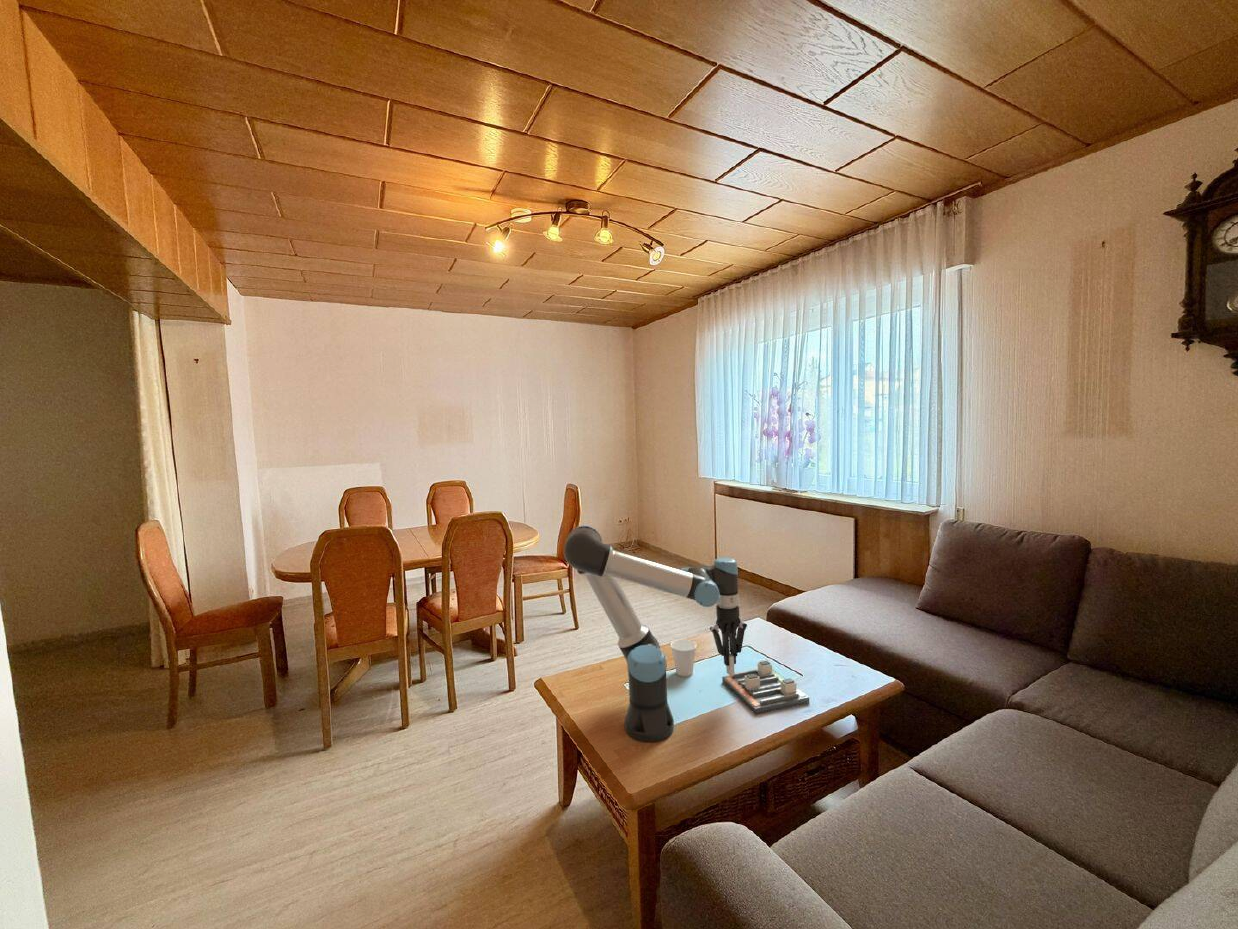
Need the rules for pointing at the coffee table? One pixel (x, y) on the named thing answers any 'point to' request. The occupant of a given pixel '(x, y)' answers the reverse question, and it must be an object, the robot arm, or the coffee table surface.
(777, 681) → the panel
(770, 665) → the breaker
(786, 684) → the block
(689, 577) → the robot arm
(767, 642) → the coffee table surface
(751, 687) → the block
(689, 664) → the cup
